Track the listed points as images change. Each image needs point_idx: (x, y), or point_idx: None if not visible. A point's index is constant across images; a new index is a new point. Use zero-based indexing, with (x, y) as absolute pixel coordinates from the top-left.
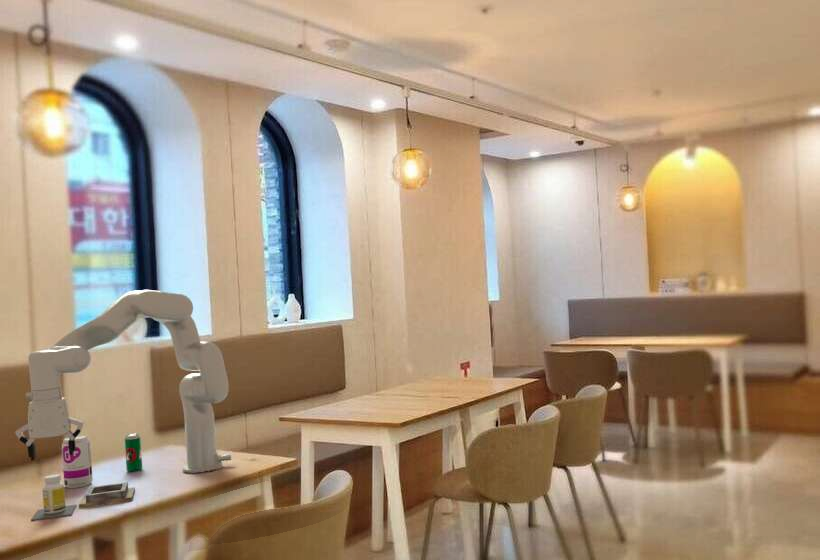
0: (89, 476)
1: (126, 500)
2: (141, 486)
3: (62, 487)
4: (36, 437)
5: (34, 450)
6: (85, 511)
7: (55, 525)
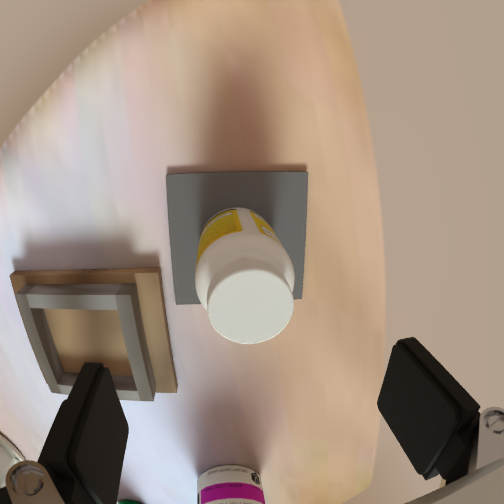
0: (200, 487)
1: (25, 272)
2: (52, 405)
3: (197, 264)
4: (498, 472)
5: (413, 421)
6: (125, 208)
7: (204, 65)
